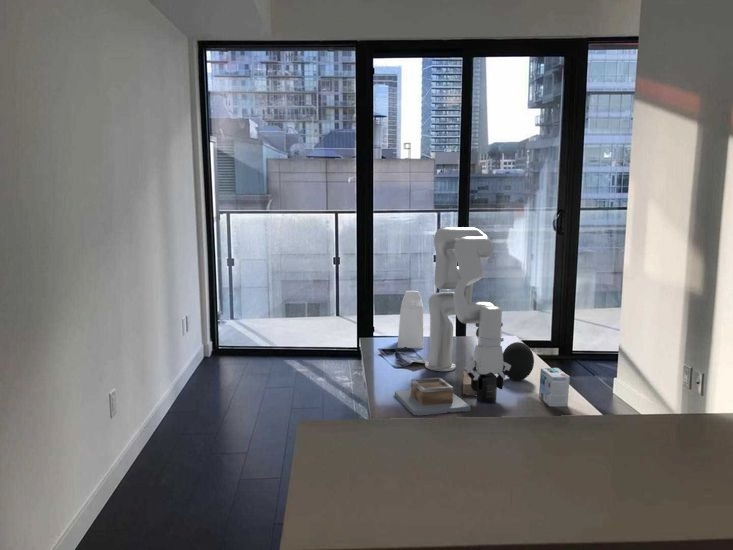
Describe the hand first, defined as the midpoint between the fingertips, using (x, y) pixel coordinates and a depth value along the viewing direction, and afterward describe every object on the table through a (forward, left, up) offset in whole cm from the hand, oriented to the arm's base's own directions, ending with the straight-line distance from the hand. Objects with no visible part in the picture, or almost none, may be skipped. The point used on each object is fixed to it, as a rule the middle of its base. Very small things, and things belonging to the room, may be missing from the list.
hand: (487, 389), depth 210 cm
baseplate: (-2, -20, -4) cm, 21 cm away
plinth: (-2, -20, -3) cm, 20 cm away
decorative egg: (-19, +23, -4) cm, 30 cm away
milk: (-79, +1, -4) cm, 79 cm away
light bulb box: (+6, +23, -4) cm, 24 cm away
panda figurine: (-56, +30, -4) cm, 64 cm away
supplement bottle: (0, 0, -4) cm, 4 cm away
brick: (-13, +2, -5) cm, 14 cm away
